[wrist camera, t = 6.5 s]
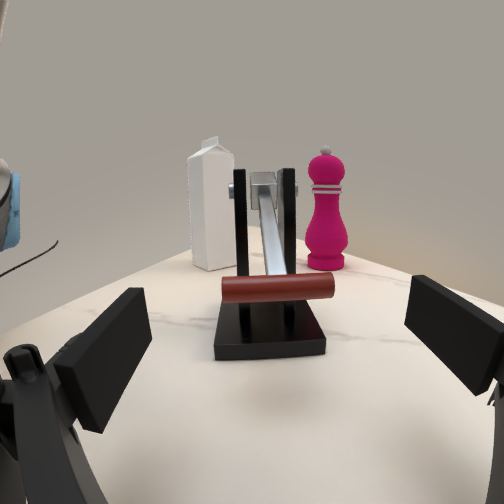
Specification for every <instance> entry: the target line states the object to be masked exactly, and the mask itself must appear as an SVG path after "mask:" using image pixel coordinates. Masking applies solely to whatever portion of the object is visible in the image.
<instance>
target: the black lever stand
mask: <svg viewBox="0 0 504 504" xmlns="http://www.w3.org/2000/svg"><path fill="white" fill-rule="evenodd" d="M245 172H246V170H245V169H233V183H229V185H228V191H229V199H234V213H235V238H236V261H237V276H249V261H248V231H247V202H246V173H245ZM277 184H278V188H277V197H278V229H279V234H280V239H281V244H282V249H283V254H284V260H285V265H286V270H287V274H296V197H297V196H298V184H297V182H295V169H294V168H283V169H281V170H279V171H277ZM325 349H326V337H325V335H324V333H323V331H322V329H321V328H320V326H319V324H318V322H317V320H316V318H315V316H314V314H313V312H312V310H311V308H310V306H309V305H308V303H307V301H306V300H293V301H274V302H250V303H223V300H222V302H221V307H220V313H219V318H218V324H217V329H216V335H215V340H214V353H215V360H246V359H269V358H285V357H298V356H309V355H320V354H325Z"/></svg>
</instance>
